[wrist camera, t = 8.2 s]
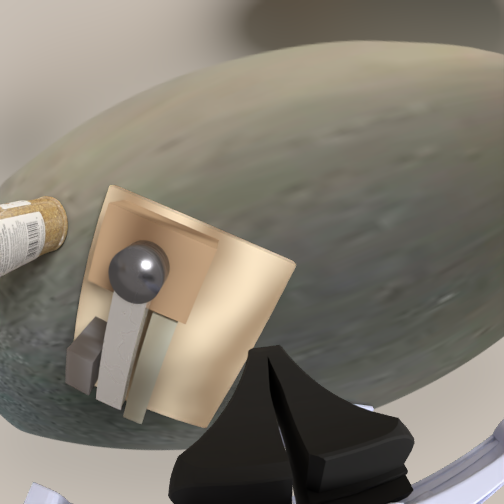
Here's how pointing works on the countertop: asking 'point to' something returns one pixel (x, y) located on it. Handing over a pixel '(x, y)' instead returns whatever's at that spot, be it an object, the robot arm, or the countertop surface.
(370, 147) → the countertop surface
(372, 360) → the countertop surface
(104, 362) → the bar
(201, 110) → the countertop surface
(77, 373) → the wooden base plank
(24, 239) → the sprinkles bottle
